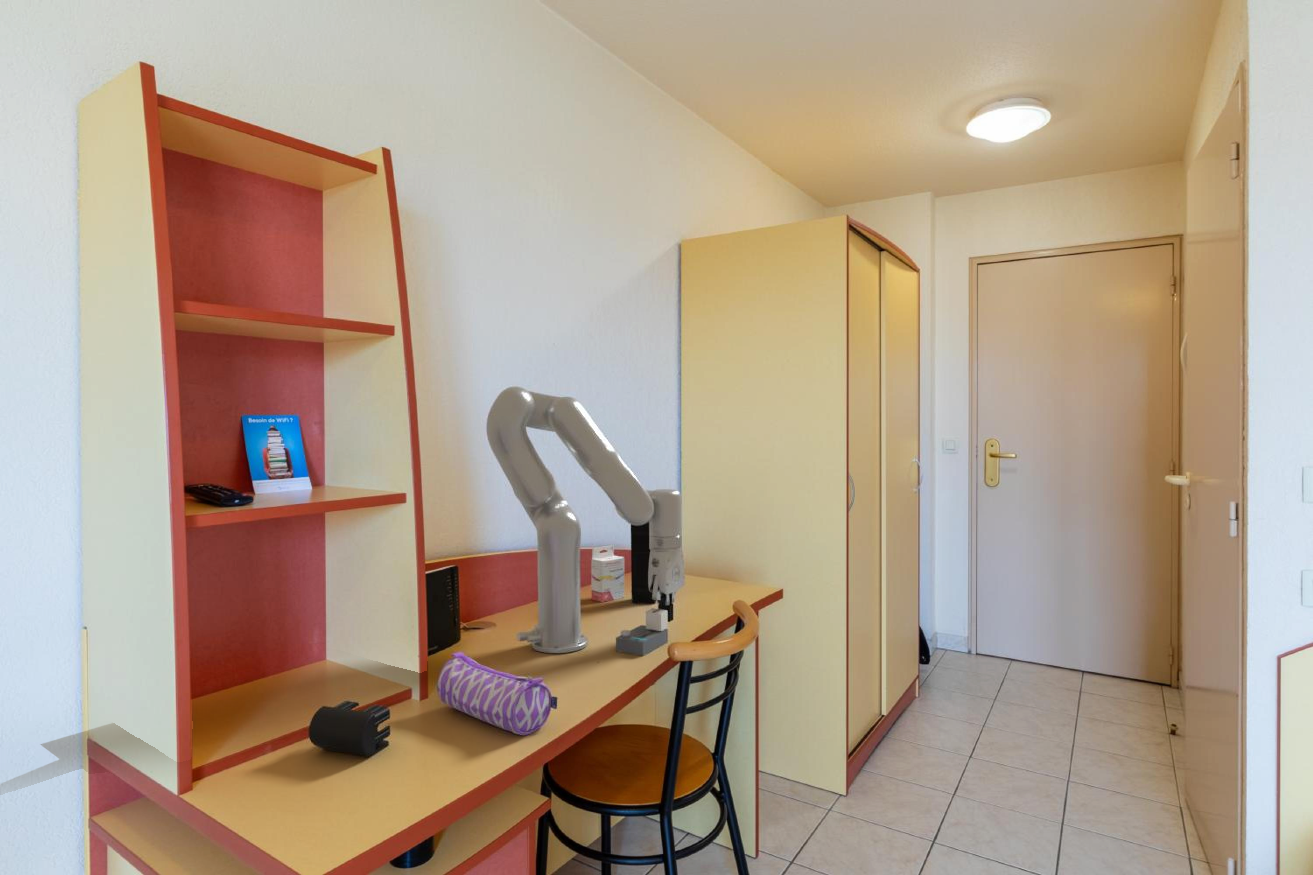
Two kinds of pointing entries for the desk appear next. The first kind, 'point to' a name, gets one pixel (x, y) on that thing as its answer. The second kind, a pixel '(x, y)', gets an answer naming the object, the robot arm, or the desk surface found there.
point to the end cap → (350, 729)
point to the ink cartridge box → (606, 574)
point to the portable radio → (640, 564)
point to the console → (640, 640)
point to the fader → (656, 619)
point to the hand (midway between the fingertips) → (665, 620)
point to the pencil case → (495, 695)
